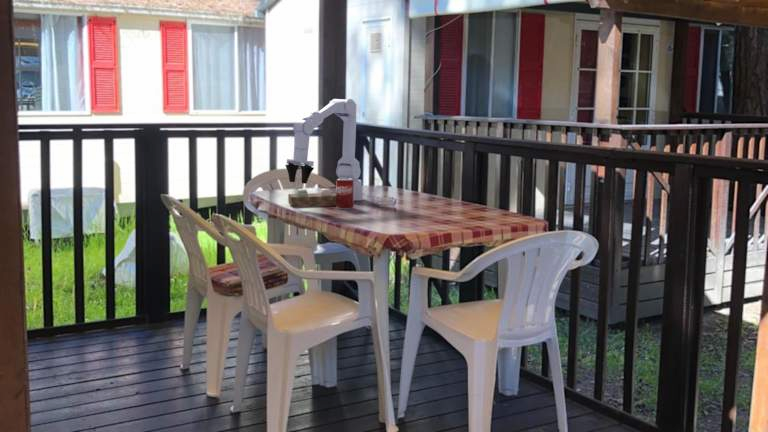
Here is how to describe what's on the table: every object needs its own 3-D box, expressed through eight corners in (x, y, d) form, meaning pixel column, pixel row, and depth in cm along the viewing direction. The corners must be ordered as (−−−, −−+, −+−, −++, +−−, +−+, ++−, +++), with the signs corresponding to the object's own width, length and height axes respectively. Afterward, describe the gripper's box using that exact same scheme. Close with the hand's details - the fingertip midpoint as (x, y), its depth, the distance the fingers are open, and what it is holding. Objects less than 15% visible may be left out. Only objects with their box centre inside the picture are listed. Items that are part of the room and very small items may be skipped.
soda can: (351, 209, 335) (351, 180, 333) (334, 209, 336) (334, 180, 334) (355, 207, 342) (355, 178, 340) (338, 206, 343) (338, 177, 341)
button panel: (334, 202, 356) (334, 192, 356) (339, 205, 347) (339, 195, 346) (288, 203, 352) (288, 194, 351) (291, 206, 342) (291, 197, 341)
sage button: (306, 198, 350) (306, 189, 350) (307, 199, 346) (307, 190, 345) (295, 198, 349) (295, 189, 348) (297, 199, 345) (297, 190, 344)
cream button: (329, 197, 352) (329, 188, 352) (331, 198, 348) (331, 189, 348) (319, 197, 351) (319, 188, 351) (320, 199, 347) (320, 190, 347)
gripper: (282, 147, 339) (279, 180, 339) (305, 149, 329) (302, 183, 330) (295, 149, 344) (292, 181, 345) (318, 151, 334) (315, 184, 335)
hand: (298, 182), depth 337 cm, fingers open, 7 cm apart
